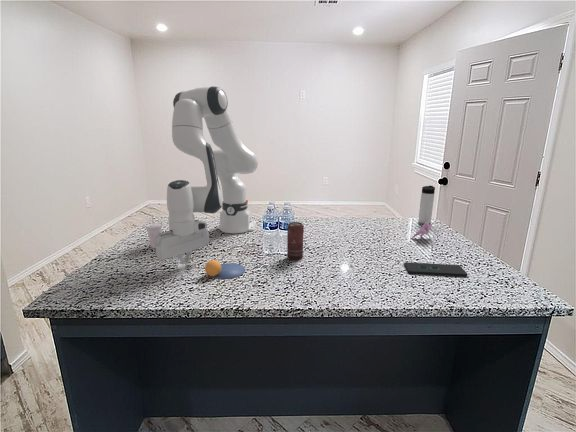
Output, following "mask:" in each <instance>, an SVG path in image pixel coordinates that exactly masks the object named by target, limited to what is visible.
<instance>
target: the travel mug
mask: <svg viewBox="0 0 576 432" xmlns="http://www.w3.org/2000/svg"><path fill="white" fill-rule="evenodd" d="M435 190H436V187H435V186H433V185H425V186H424V185H423V186H422V187H421V195H420V203H419V211H418V212H419V213H418V220H417V223H418V224H419V225H422V226H423V225H424V224H425V223H426V222H428V223H429V225H430V224H432V215H433V209H434V200H435Z"/></svg>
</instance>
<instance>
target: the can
mask: <svg viewBox="0 0 576 432" xmlns="http://www.w3.org/2000/svg"><path fill="white" fill-rule="evenodd" d="M304 227H305V226H304V225H303V223H302V222H298V221H297V222H296V221H294V222H293V221H292V222H289V223H288V224H287V233H286V234H287V239H286V240H287V241H286V242H287V244H286V246H287V249H286V251H287V254H286V255H287V256H286V257H287V259H288V260H290V261H300V260H302V259H303V257H304V232H305V229H304Z"/></svg>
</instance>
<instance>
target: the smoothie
mask: <svg viewBox="0 0 576 432" xmlns="http://www.w3.org/2000/svg"><path fill="white" fill-rule="evenodd" d="M154 219H155V218H154V215H151V220H152V222H151V223H148V224H146V225H145V229H146V232H147V236H148V239H149V244H150V247H151V249H156V237H157V235H159V233H162V228H163V224H162V223H159V222H155V220H154Z"/></svg>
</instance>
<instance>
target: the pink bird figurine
mask: <svg viewBox="0 0 576 432" xmlns="http://www.w3.org/2000/svg"><path fill="white" fill-rule="evenodd" d="M435 223H436V221H433V222H431V224H430V225H429V223H428V222H426V223H425V224H424V225H422V226H421V228H420V229H419V230H417V231H416V232H415V234H414V235H412V236H411V239H414V238H415V237H418V236H420V237H421V238H422V237H423V236H424V235H427V236H428V238H429V240H430V242H431V243H433V240H432V238H431V237H430V234H429V231H430V229H432V228H433V225H434V224H435Z"/></svg>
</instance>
